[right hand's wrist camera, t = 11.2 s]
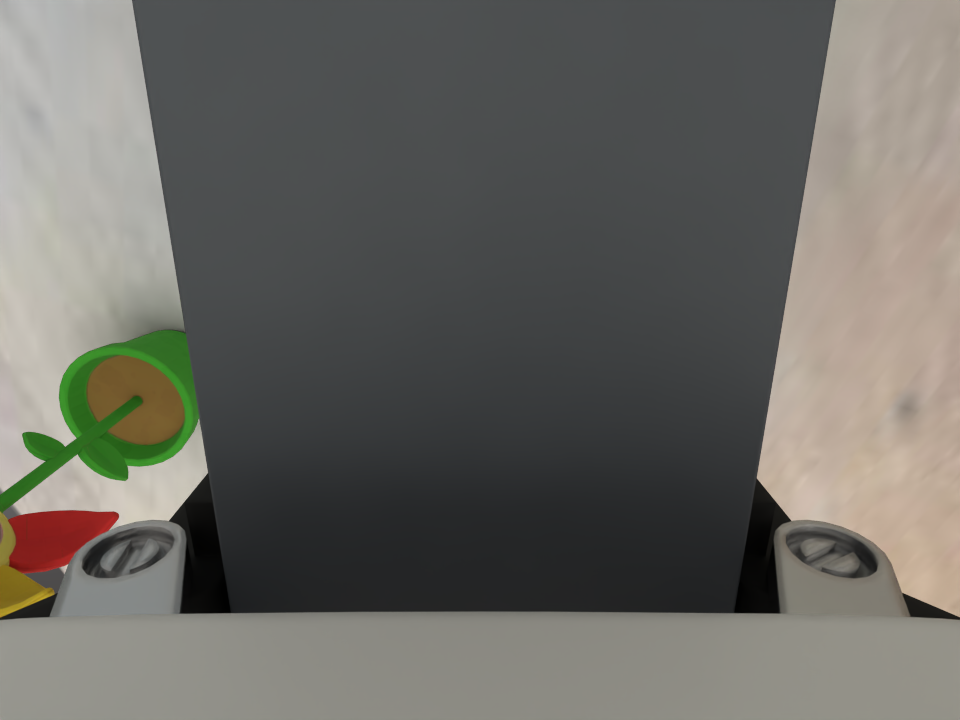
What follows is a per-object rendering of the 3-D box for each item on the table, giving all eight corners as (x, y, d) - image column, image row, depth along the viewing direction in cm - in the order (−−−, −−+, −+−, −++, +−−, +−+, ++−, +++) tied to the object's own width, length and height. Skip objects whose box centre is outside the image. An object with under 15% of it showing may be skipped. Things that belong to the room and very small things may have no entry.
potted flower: (261, 375, 42) (1, 657, 19) (194, 446, 44) (-119, 786, 21) (148, 282, 40) (-310, 471, 16) (83, 361, 42) (-416, 635, 18)
